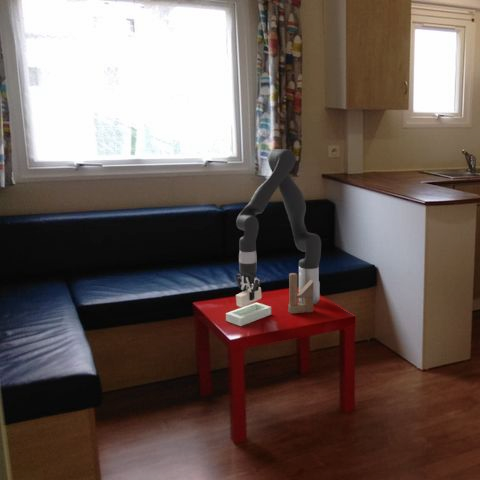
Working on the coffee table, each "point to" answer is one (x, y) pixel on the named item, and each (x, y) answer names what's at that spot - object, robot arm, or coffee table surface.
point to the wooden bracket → (300, 296)
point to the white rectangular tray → (248, 314)
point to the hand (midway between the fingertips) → (248, 298)
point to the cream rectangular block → (247, 298)
